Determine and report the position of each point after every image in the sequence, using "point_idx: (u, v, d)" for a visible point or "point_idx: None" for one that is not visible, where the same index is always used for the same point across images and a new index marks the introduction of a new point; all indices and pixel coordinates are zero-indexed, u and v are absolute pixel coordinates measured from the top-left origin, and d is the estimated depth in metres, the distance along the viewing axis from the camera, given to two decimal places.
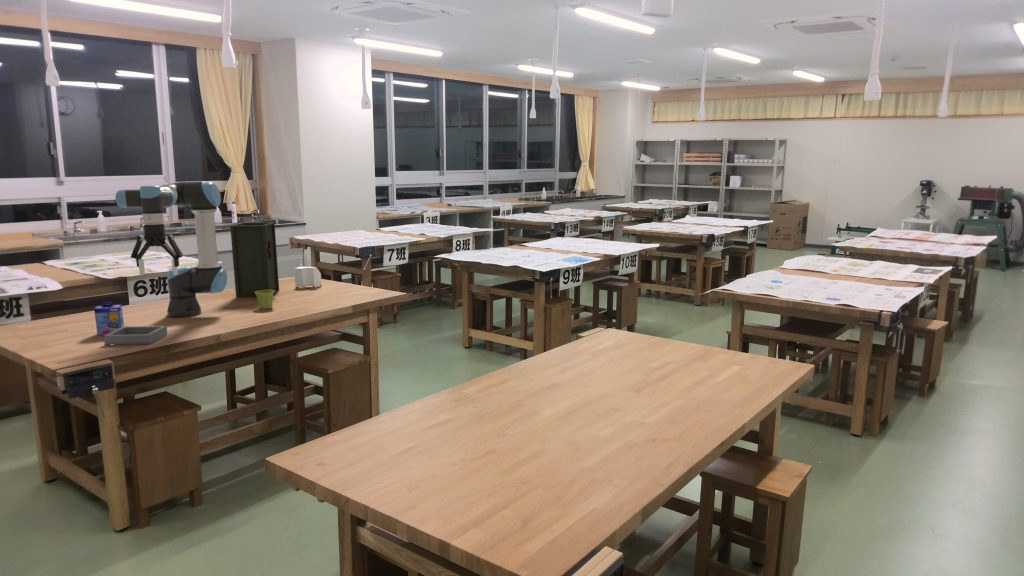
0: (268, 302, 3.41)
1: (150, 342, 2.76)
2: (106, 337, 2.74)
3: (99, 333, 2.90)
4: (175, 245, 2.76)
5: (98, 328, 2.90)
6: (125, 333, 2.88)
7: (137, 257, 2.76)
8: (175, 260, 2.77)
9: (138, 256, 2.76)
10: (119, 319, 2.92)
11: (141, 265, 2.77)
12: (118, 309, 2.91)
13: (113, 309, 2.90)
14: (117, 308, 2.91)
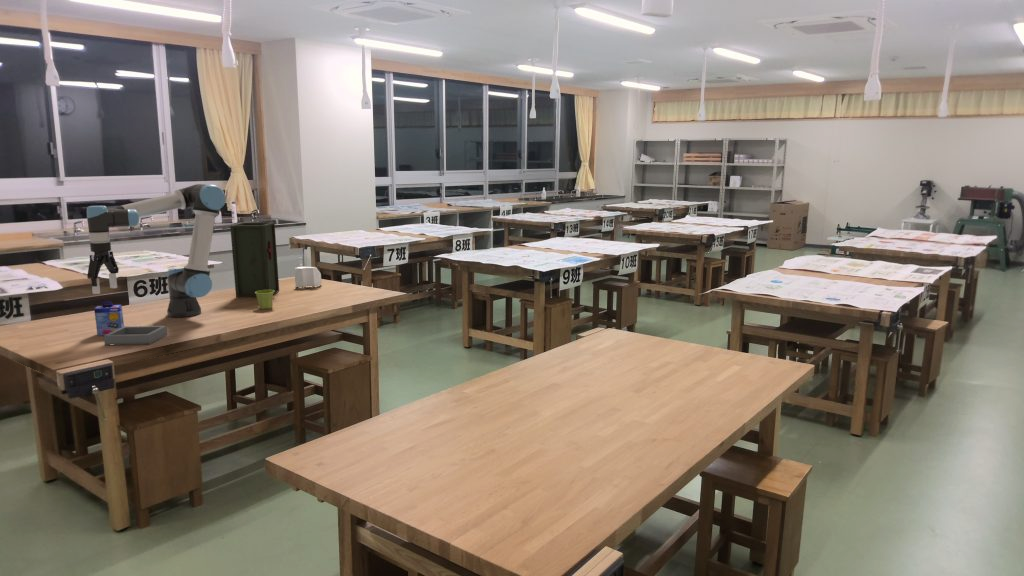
0: (268, 302, 3.41)
1: (150, 342, 2.76)
2: (106, 337, 2.74)
3: (99, 333, 2.90)
4: (91, 265, 2.80)
5: (98, 328, 2.90)
6: (125, 333, 2.88)
7: None
8: None
9: None
10: (119, 319, 2.92)
11: (110, 279, 2.96)
12: (118, 309, 2.91)
13: (113, 309, 2.90)
14: (117, 308, 2.91)
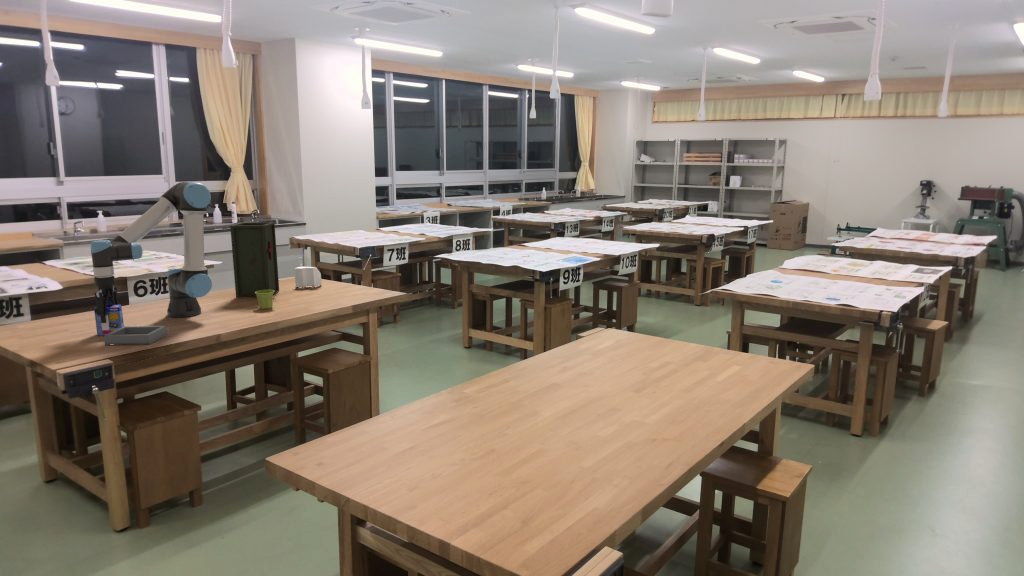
0: (268, 302, 3.41)
1: (150, 342, 2.76)
2: (106, 337, 2.74)
3: (99, 333, 2.90)
4: (98, 303, 2.85)
5: (98, 328, 2.90)
6: (125, 333, 2.88)
7: None
8: None
9: None
10: (119, 319, 2.92)
11: None
12: (118, 309, 2.91)
13: (113, 309, 2.90)
14: (117, 308, 2.91)
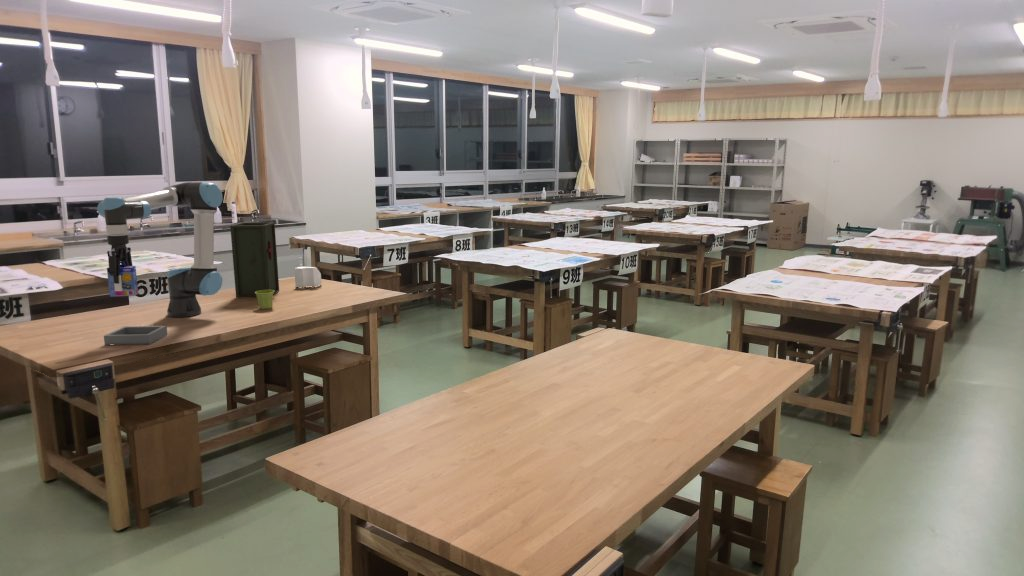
0: (268, 302, 3.41)
1: (150, 342, 2.76)
2: (106, 337, 2.74)
3: (111, 294, 2.79)
4: (111, 262, 2.73)
5: (110, 289, 2.78)
6: (125, 333, 2.88)
7: None
8: None
9: None
10: (132, 280, 2.80)
11: None
12: (131, 269, 2.79)
13: (126, 269, 2.79)
14: (130, 268, 2.79)
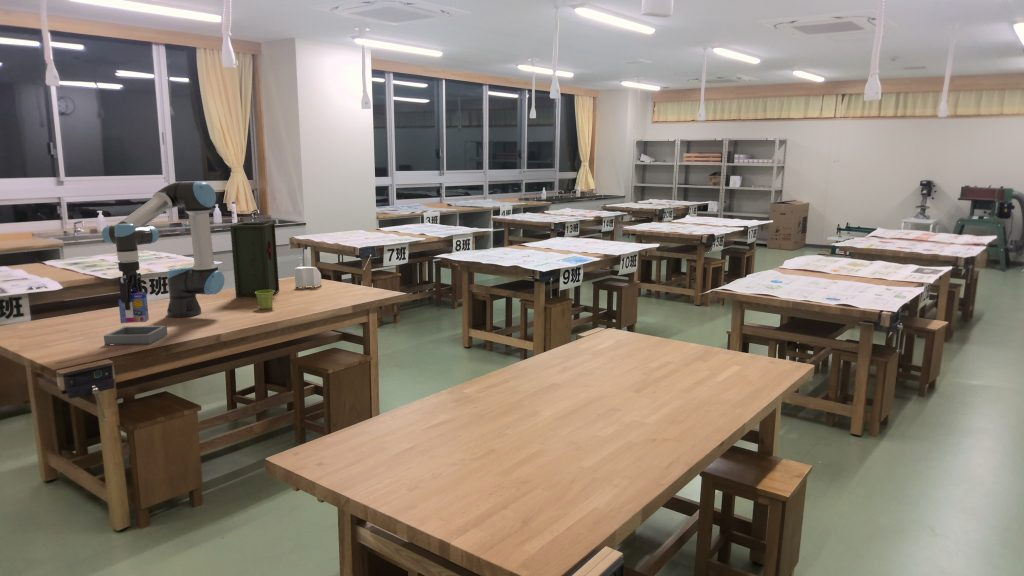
0: (268, 302, 3.41)
1: (150, 342, 2.76)
2: (106, 337, 2.74)
3: (122, 321, 2.78)
4: (122, 289, 2.72)
5: (121, 315, 2.77)
6: (125, 333, 2.88)
7: None
8: None
9: None
10: (143, 306, 2.79)
11: None
12: (142, 296, 2.78)
13: (137, 296, 2.78)
14: (141, 295, 2.78)
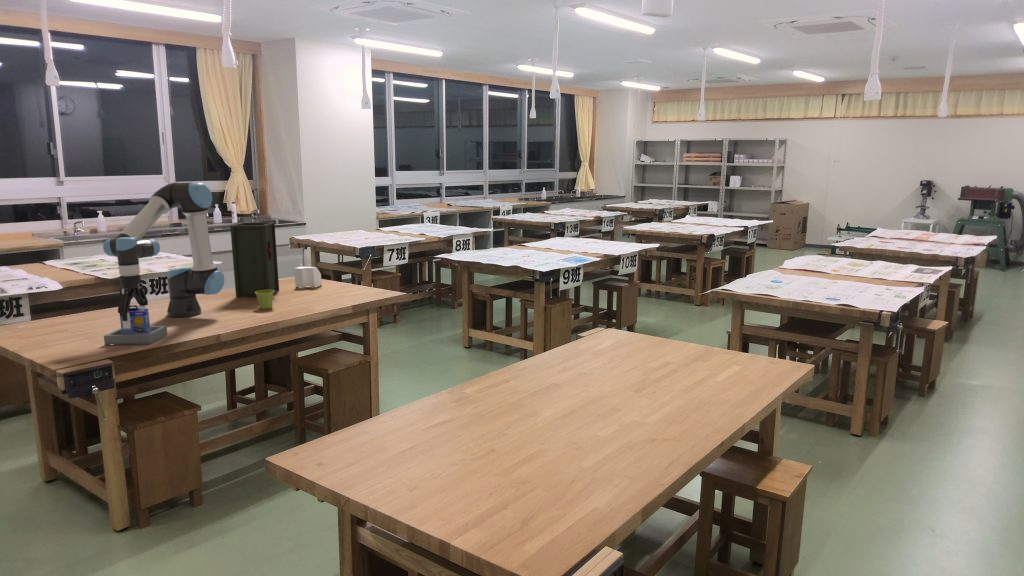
0: (268, 302, 3.41)
1: (150, 342, 2.76)
2: (106, 337, 2.74)
3: None
4: (121, 299, 2.72)
5: (123, 332, 2.79)
6: None
7: None
8: None
9: None
10: (144, 323, 2.80)
11: None
12: (143, 313, 2.79)
13: (138, 313, 2.78)
14: (142, 312, 2.79)
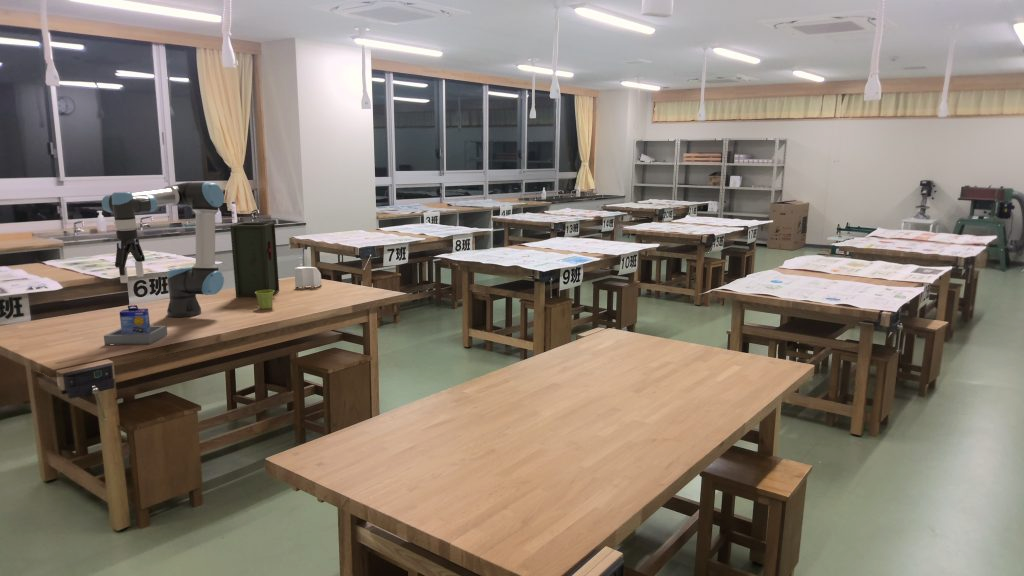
0: (268, 302, 3.41)
1: (150, 342, 2.76)
2: (106, 337, 2.74)
3: None
4: (118, 254, 2.72)
5: (123, 332, 2.79)
6: None
7: None
8: None
9: None
10: (144, 323, 2.80)
11: (137, 267, 2.88)
12: (143, 313, 2.79)
13: (138, 313, 2.78)
14: (142, 312, 2.79)
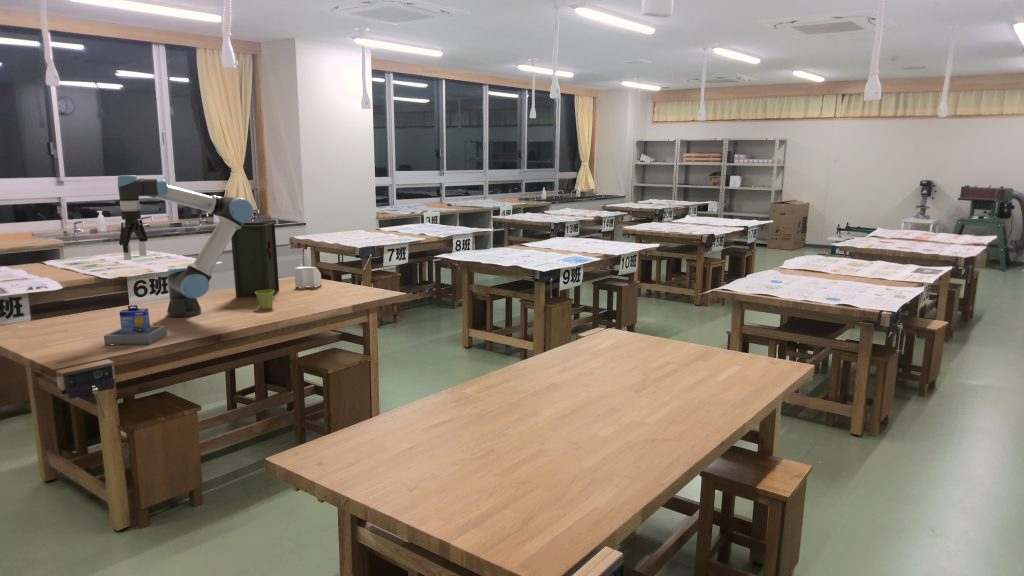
0: (268, 302, 3.41)
1: (150, 342, 2.76)
2: (106, 337, 2.74)
3: None
4: (123, 232, 2.90)
5: (123, 332, 2.79)
6: None
7: None
8: None
9: None
10: (144, 323, 2.80)
11: (140, 247, 3.06)
12: (143, 313, 2.79)
13: (138, 313, 2.78)
14: (142, 312, 2.79)
